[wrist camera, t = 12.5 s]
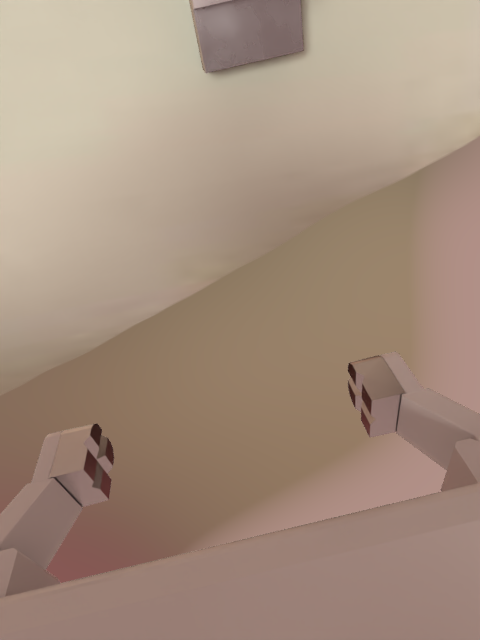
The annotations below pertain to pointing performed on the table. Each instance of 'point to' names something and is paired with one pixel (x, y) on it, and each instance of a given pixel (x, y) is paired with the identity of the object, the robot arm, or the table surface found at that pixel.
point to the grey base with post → (245, 30)
